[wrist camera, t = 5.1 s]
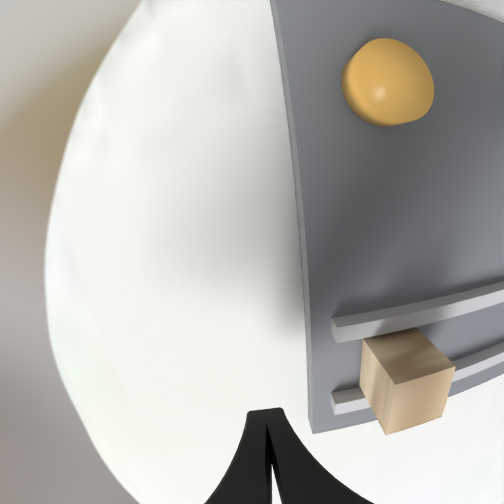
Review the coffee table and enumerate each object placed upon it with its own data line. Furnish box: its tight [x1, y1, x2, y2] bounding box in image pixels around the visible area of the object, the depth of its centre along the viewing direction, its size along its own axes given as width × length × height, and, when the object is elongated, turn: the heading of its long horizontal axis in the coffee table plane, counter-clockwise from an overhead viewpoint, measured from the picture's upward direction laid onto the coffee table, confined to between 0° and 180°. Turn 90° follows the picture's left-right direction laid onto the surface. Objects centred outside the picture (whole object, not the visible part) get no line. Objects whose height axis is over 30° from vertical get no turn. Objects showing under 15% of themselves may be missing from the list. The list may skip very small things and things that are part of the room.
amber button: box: [341, 38, 434, 127], centre depth 11 cm, size 4×4×2 cm
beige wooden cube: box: [359, 327, 456, 435], centre depth 13 cm, size 3×3×4 cm
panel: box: [270, 0, 504, 434], centre depth 14 cm, size 18×24×2 cm
